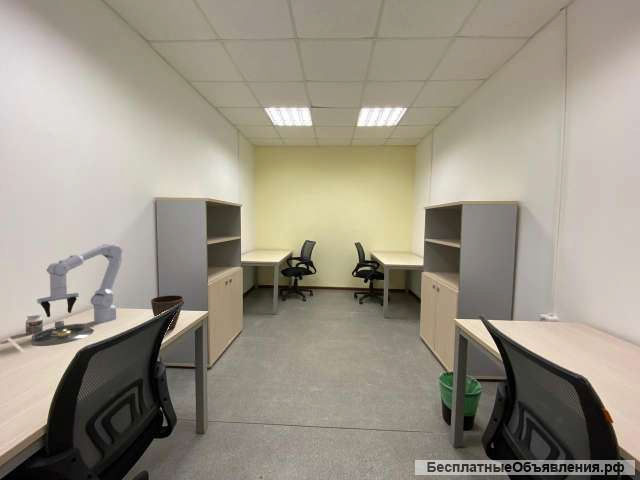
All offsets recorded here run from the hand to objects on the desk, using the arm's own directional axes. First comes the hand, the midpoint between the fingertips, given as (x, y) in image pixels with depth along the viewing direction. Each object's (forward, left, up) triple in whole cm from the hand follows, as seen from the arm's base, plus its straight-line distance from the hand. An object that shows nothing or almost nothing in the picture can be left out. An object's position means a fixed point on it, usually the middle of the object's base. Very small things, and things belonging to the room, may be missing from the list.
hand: (59, 314), depth 132 cm
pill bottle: (+6, -12, -11) cm, 17 cm away
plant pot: (-34, +34, -11) cm, 49 cm away
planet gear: (0, 0, -9) cm, 9 cm away
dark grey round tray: (0, +6, -10) cm, 12 cm away
